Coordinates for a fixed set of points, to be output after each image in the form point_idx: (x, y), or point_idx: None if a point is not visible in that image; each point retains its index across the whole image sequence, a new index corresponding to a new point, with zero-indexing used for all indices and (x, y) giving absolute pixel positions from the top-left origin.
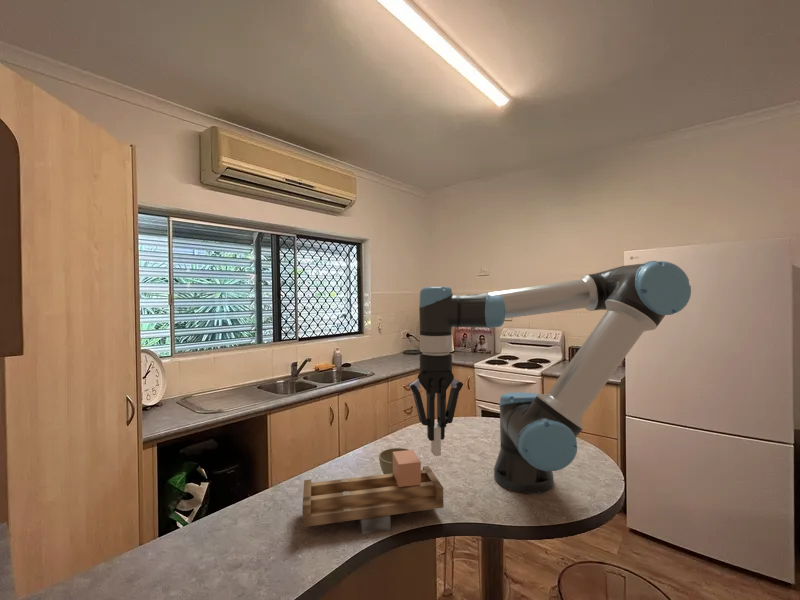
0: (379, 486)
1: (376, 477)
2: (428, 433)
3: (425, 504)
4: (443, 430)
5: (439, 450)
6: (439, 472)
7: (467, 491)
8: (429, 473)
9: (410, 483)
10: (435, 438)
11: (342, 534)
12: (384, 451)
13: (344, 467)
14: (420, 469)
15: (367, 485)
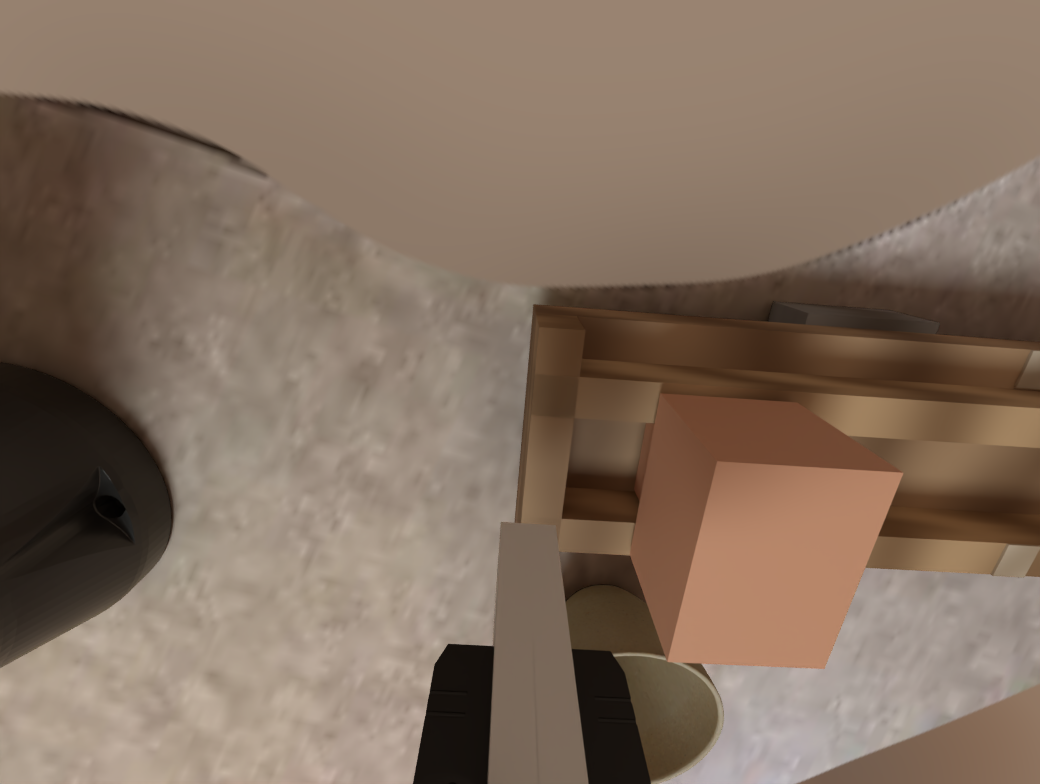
0: None
1: None
2: (634, 742)
3: (634, 317)
4: (435, 751)
5: (513, 551)
6: (403, 633)
7: (336, 472)
8: (547, 506)
9: (732, 403)
10: (561, 653)
11: None
12: (665, 773)
13: (756, 749)
14: (695, 434)
15: None
